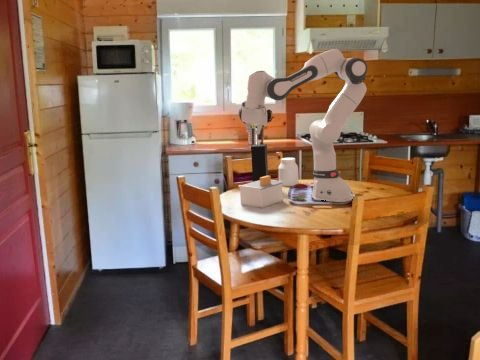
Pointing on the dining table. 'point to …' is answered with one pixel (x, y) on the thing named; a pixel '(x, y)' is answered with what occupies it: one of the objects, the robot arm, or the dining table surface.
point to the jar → (288, 172)
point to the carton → (261, 195)
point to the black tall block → (259, 160)
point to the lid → (263, 183)
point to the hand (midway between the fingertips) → (253, 133)
